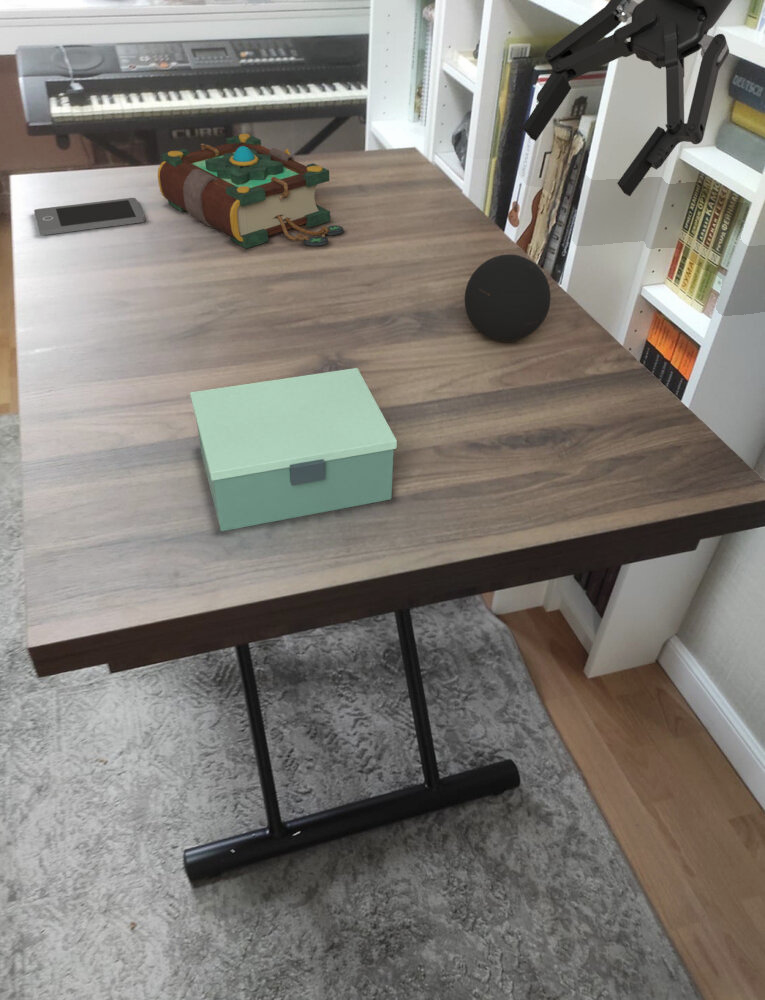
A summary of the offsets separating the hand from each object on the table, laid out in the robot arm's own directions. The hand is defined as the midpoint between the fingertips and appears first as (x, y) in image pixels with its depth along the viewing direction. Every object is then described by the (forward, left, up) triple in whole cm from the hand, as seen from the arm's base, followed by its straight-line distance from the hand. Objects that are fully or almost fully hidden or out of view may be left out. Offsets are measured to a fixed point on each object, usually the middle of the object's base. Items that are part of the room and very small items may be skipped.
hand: (574, 161), depth 90 cm
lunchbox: (+5, +41, -20) cm, 46 cm away
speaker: (+3, +5, -20) cm, 21 cm away
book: (+49, -2, -20) cm, 53 cm away
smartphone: (+68, +15, -20) cm, 73 cm away
